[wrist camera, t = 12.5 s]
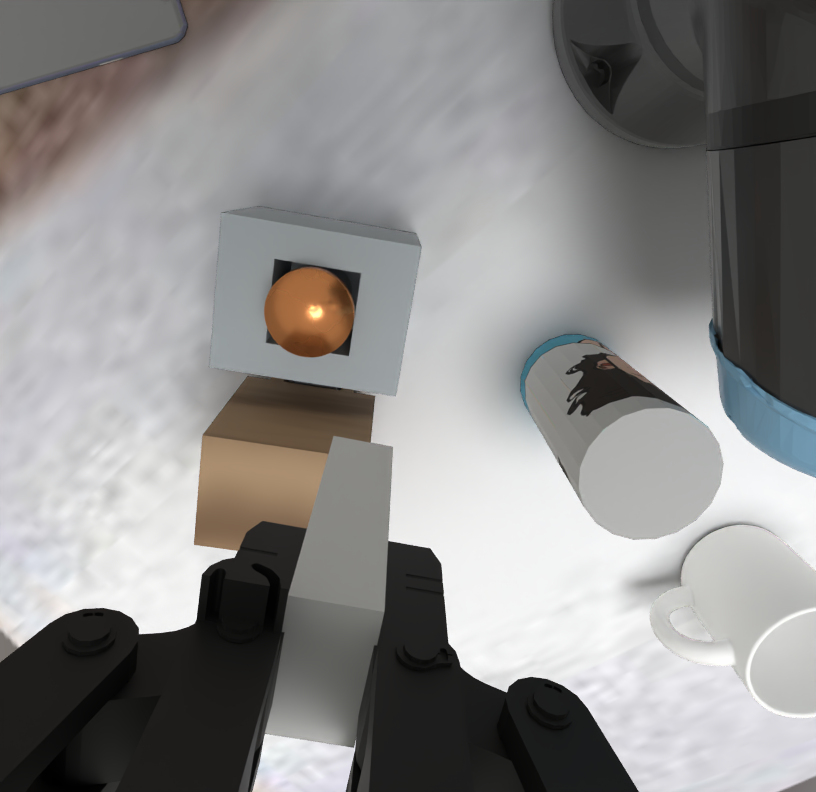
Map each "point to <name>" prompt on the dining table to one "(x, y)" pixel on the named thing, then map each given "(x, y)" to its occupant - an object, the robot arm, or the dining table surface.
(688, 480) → the white printed can
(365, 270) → the grey block with hole
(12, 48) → the smartphone
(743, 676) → the mug
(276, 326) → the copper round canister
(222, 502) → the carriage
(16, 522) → the dining table surface
